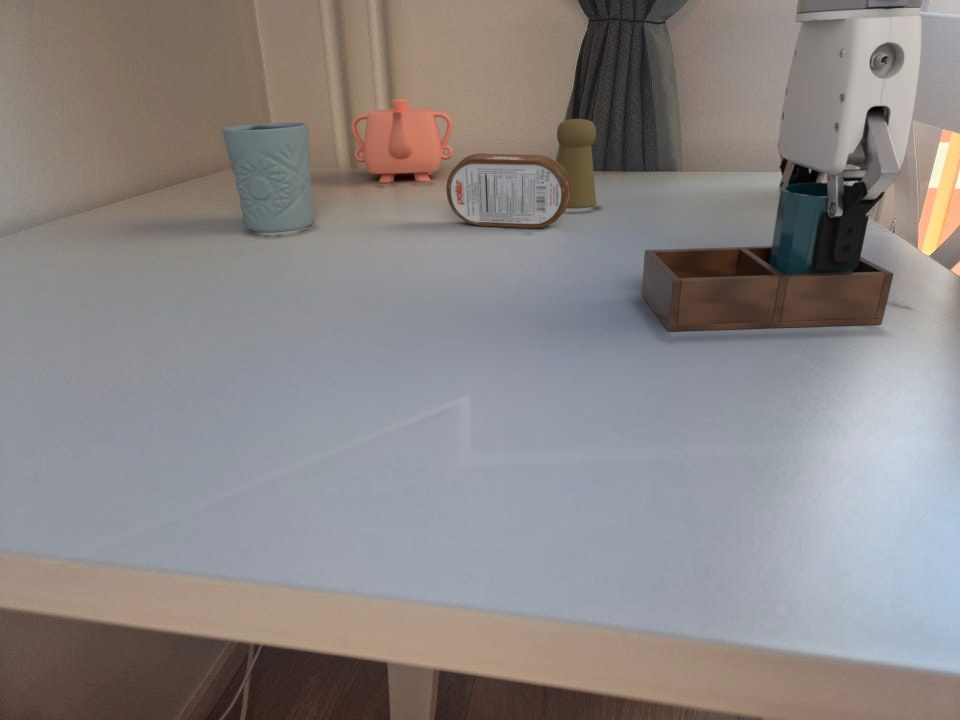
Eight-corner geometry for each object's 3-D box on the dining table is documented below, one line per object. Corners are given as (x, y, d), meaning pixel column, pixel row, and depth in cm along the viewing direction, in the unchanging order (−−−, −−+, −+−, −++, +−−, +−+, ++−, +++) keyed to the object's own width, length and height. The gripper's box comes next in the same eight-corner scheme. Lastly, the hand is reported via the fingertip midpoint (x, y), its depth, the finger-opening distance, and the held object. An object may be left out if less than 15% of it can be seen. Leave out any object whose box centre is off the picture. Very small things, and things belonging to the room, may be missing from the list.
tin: (570, 225, 82) (573, 153, 79) (566, 231, 79) (568, 157, 76) (452, 220, 86) (450, 152, 83) (445, 226, 83) (441, 155, 80)
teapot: (409, 167, 127) (404, 95, 121) (470, 176, 116) (468, 97, 111) (342, 178, 117) (333, 100, 112) (402, 189, 106) (395, 103, 101)
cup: (824, 277, 57) (842, 180, 54) (863, 301, 52) (885, 195, 48) (753, 280, 57) (767, 183, 54) (784, 304, 52) (802, 198, 48)
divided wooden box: (827, 289, 59) (836, 243, 57) (881, 324, 51) (894, 273, 49) (641, 295, 58) (644, 249, 57) (668, 331, 51) (673, 280, 49)
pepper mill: (604, 205, 92) (608, 119, 88) (565, 209, 90) (567, 122, 86) (582, 197, 97) (585, 116, 93) (544, 201, 95) (545, 119, 91)
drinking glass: (257, 237, 80) (240, 131, 75) (226, 223, 88) (208, 126, 83) (334, 223, 86) (322, 124, 81) (298, 211, 93) (286, 119, 88)
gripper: (1008, -17, 38) (929, 289, 45) (847, 2, 53) (808, 228, 61) (874, -13, 38) (817, 294, 45) (753, 5, 53) (725, 231, 61)
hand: (813, 253), depth 53 cm, fingers closed on cup, 6 cm apart
